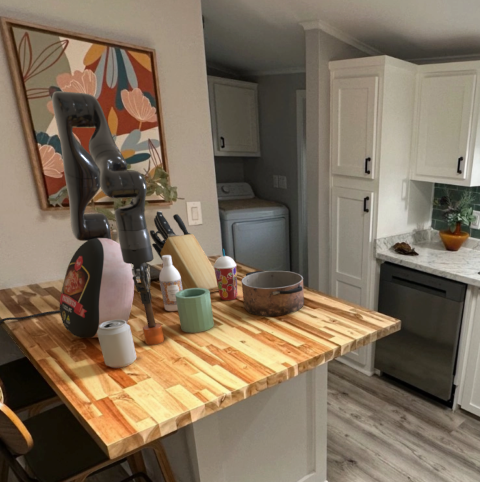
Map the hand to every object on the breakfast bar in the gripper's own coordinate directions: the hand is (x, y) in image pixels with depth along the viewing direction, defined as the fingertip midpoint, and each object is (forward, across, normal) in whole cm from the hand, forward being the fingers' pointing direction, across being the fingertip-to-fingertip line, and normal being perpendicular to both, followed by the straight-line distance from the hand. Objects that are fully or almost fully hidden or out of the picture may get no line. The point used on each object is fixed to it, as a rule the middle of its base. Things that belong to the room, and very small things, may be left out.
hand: (147, 301), depth 122 cm
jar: (+13, -8, +12) cm, 19 cm away
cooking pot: (+13, -20, +39) cm, 46 cm away
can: (+13, +12, -7) cm, 19 cm away
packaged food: (+13, -12, -15) cm, 23 cm away
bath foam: (+13, -28, +4) cm, 31 cm away
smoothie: (+13, -34, +23) cm, 43 cm away
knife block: (+13, -54, +8) cm, 56 cm away
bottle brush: (+13, 0, 0) cm, 13 cm away
